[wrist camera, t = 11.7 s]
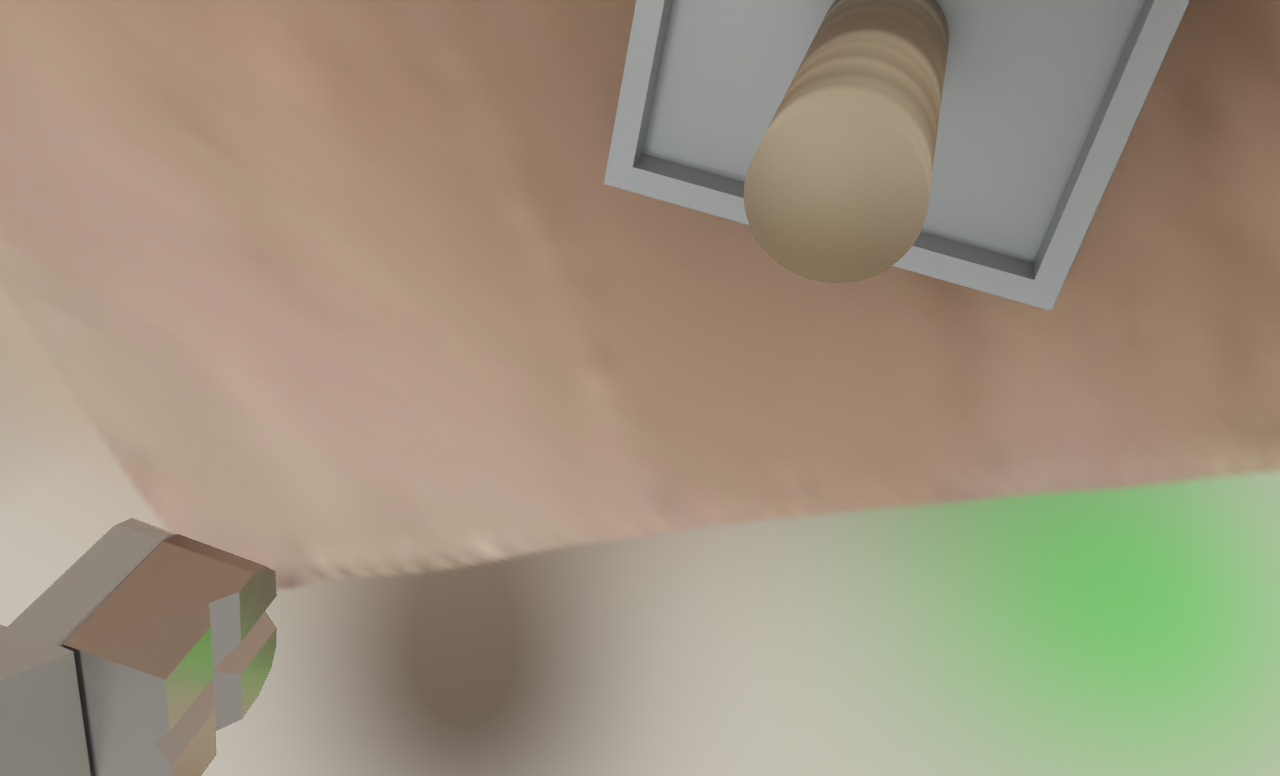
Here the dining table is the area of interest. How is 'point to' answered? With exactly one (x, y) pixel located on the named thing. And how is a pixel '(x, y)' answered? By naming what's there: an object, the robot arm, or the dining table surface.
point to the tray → (967, 130)
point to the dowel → (853, 143)
